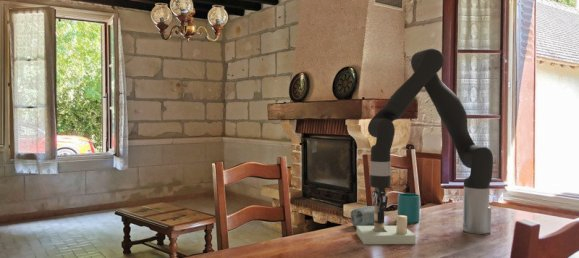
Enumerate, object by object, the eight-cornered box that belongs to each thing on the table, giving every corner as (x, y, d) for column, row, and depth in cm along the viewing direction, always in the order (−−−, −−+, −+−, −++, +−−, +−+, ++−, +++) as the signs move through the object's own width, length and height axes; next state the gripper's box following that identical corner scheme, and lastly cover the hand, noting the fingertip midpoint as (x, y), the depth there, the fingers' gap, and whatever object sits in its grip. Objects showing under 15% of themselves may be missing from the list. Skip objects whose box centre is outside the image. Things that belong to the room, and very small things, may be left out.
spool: (358, 223, 178) (358, 198, 182) (345, 229, 185) (345, 205, 190) (388, 229, 182) (387, 205, 187) (374, 235, 190) (373, 211, 195)
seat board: (403, 233, 176) (404, 209, 176) (415, 243, 162) (415, 218, 162) (356, 233, 175) (356, 210, 175) (364, 244, 161) (364, 218, 161)
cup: (428, 220, 198) (428, 194, 197) (410, 224, 190) (411, 197, 190) (410, 216, 205) (410, 191, 204) (393, 220, 197) (393, 194, 197)
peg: (382, 228, 170) (383, 203, 170) (385, 230, 167) (385, 205, 166) (373, 228, 170) (373, 203, 170) (375, 230, 167) (375, 205, 166)
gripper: (395, 176, 161) (394, 225, 161) (385, 171, 175) (384, 216, 176) (374, 176, 161) (373, 225, 161) (365, 171, 175) (365, 216, 175)
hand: (379, 220), depth 168 cm, fingers closed on peg, 3 cm apart
